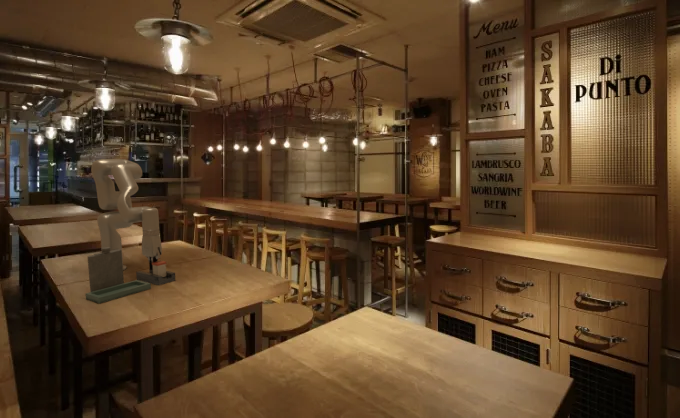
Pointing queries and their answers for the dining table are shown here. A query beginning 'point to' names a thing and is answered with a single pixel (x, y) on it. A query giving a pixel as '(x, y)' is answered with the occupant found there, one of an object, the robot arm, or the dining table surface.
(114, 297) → the tray
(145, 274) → the switch panel
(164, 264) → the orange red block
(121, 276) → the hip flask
